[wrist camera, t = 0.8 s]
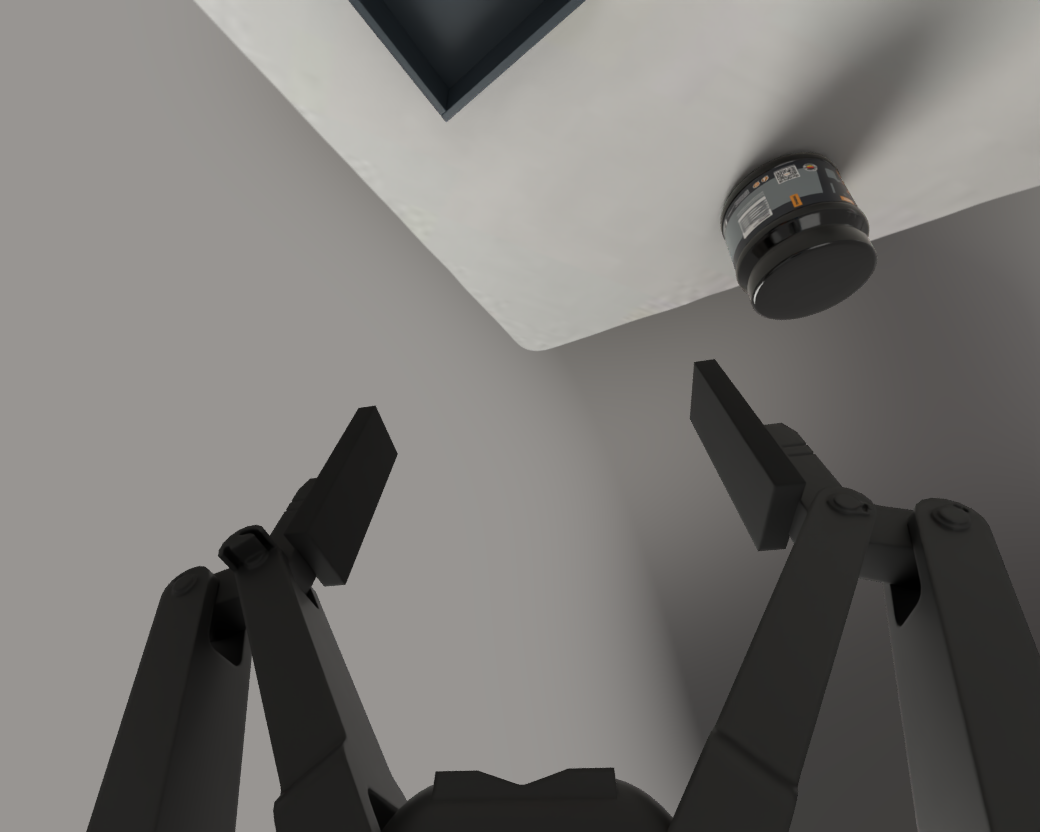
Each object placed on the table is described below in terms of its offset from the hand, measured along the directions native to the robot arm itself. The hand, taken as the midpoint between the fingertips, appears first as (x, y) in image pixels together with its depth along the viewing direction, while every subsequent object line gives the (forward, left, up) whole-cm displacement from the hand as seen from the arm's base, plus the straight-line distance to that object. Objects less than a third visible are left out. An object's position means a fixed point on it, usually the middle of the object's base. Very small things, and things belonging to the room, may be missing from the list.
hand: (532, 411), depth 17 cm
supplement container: (+25, +14, -31) cm, 42 cm away
